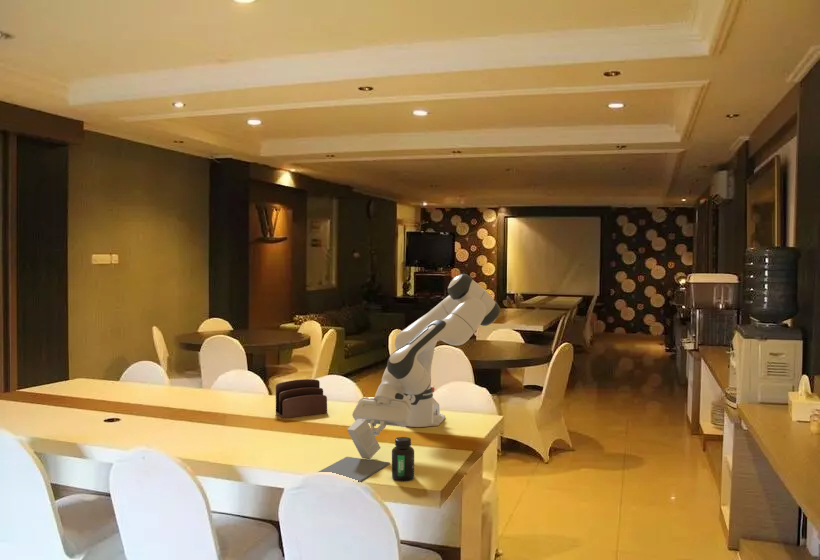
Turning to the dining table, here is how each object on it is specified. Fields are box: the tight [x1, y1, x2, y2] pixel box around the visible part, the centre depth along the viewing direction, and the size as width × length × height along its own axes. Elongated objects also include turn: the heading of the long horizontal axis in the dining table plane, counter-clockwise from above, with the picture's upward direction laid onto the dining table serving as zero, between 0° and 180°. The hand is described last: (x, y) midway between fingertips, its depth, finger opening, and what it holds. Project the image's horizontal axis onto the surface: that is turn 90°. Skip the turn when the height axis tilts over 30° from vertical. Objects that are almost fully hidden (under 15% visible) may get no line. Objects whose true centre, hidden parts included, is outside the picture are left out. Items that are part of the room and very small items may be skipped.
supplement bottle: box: [391, 436, 415, 482], centre depth 212 cm, size 7×7×12 cm
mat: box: [318, 456, 390, 482], centre depth 220 cm, size 20×16×1 cm
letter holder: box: [275, 378, 328, 420], centre depth 298 cm, size 10×20×14 cm, turn 118°
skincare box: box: [346, 419, 381, 460], centre depth 230 cm, size 6×4×12 cm
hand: (374, 433), depth 233 cm, fingers closed
